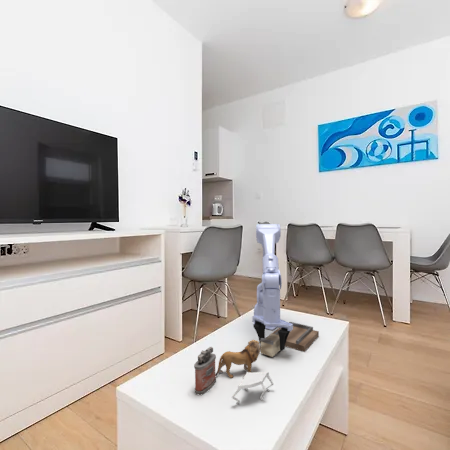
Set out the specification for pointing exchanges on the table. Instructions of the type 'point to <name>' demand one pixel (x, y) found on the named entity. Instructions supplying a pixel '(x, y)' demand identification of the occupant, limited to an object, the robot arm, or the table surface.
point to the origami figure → (253, 382)
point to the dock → (300, 336)
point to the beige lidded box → (270, 345)
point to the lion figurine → (240, 358)
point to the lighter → (205, 371)
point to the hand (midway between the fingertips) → (272, 346)
